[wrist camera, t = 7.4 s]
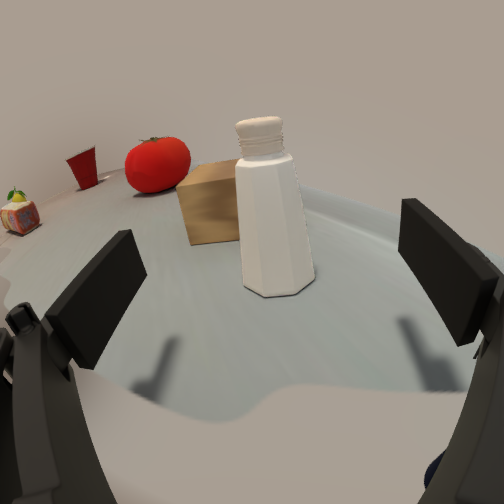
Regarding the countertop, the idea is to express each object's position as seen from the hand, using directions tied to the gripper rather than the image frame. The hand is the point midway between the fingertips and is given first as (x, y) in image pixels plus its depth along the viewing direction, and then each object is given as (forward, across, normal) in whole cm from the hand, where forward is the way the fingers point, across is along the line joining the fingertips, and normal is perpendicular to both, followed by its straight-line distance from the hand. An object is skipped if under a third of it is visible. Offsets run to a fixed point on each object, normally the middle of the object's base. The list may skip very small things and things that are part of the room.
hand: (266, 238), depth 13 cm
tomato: (+38, -21, -6) cm, 44 cm away
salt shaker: (+6, 0, -6) cm, 8 cm away
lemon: (+49, -79, -6) cm, 93 cm away
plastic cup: (+62, -57, -6) cm, 84 cm away
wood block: (+17, -4, -6) cm, 18 cm away
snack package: (+33, -60, -6) cm, 69 cm away
